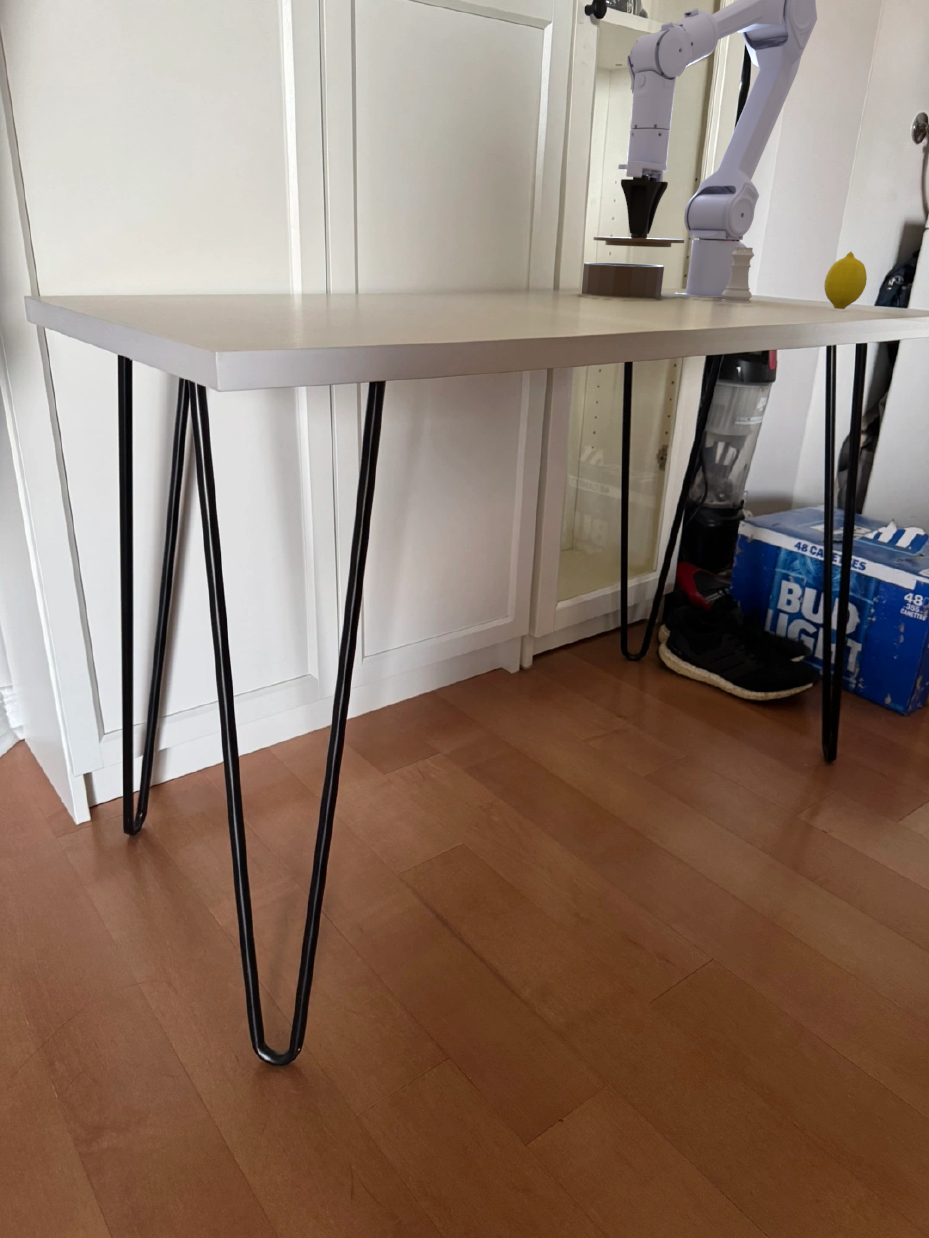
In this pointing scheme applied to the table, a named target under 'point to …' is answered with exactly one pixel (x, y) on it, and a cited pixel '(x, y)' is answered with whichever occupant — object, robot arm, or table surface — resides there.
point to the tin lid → (638, 240)
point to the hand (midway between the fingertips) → (639, 233)
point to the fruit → (845, 281)
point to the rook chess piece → (739, 277)
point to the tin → (622, 279)
